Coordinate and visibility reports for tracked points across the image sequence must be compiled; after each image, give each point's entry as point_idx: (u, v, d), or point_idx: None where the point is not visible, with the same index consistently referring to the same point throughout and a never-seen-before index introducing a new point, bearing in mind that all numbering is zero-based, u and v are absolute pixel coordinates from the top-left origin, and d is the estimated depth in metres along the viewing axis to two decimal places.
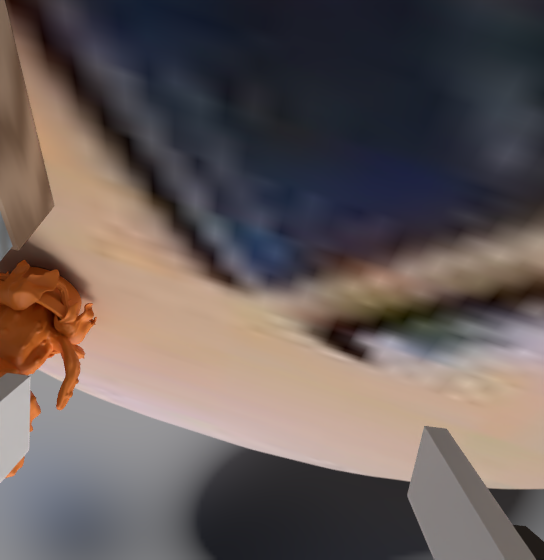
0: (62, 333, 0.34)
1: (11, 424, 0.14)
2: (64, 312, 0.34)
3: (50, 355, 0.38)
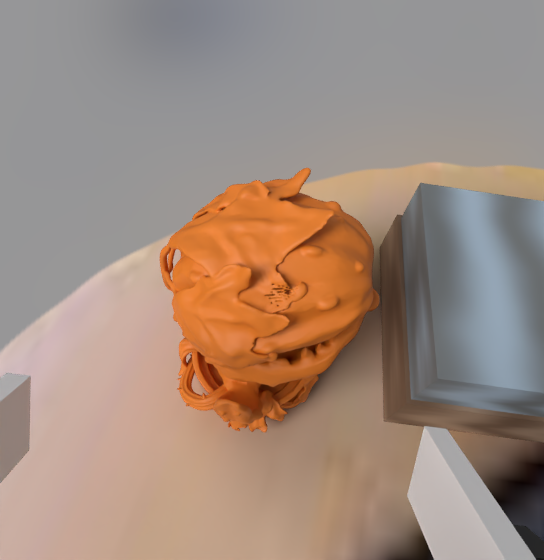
0: None
1: (11, 424, 0.14)
2: None
3: (184, 357, 0.29)
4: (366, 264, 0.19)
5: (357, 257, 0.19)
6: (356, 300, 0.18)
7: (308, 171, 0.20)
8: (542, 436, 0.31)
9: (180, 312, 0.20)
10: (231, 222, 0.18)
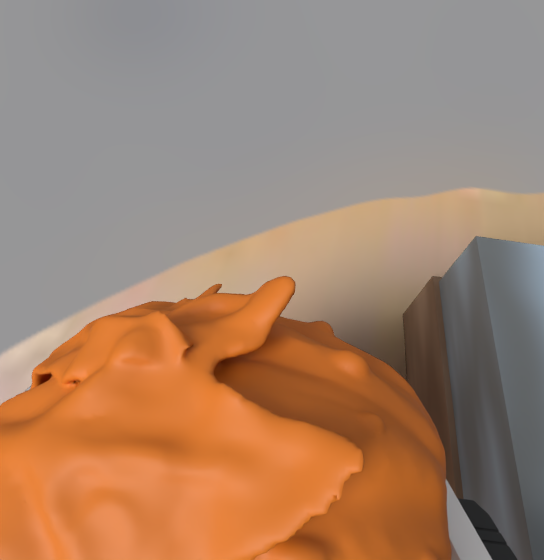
0: None
1: None
2: None
3: None
4: (444, 543, 0.07)
5: (420, 539, 0.07)
6: None
7: (289, 286, 0.08)
8: None
9: None
10: (71, 450, 0.07)
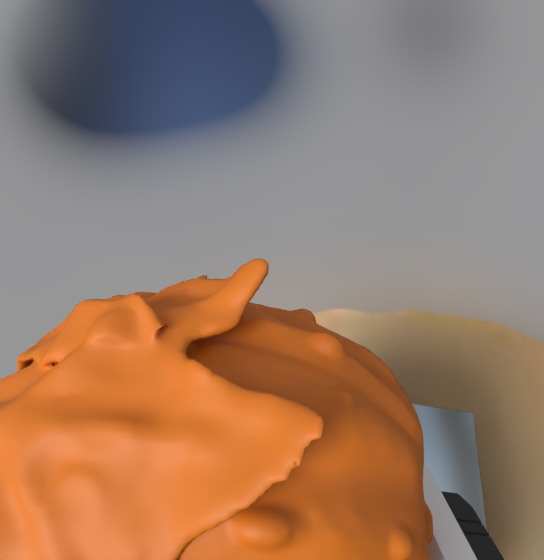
0: None
1: None
2: None
3: None
4: (417, 520, 0.07)
5: (391, 513, 0.07)
6: None
7: (261, 268, 0.08)
8: None
9: None
10: (45, 425, 0.07)
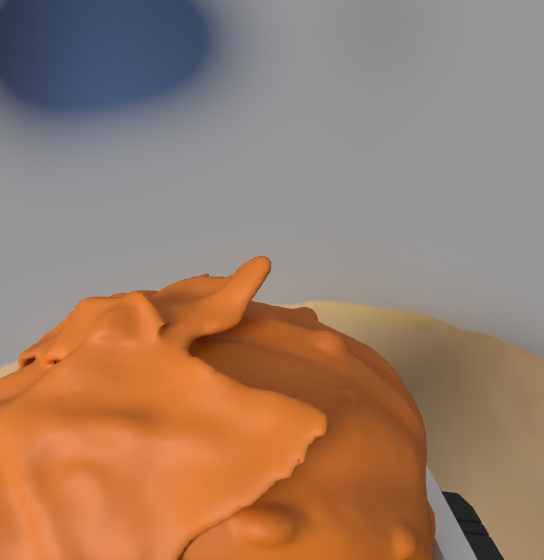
0: None
1: None
2: None
3: None
4: (421, 518, 0.07)
5: (394, 512, 0.07)
6: None
7: (264, 265, 0.08)
8: None
9: None
10: (47, 423, 0.07)
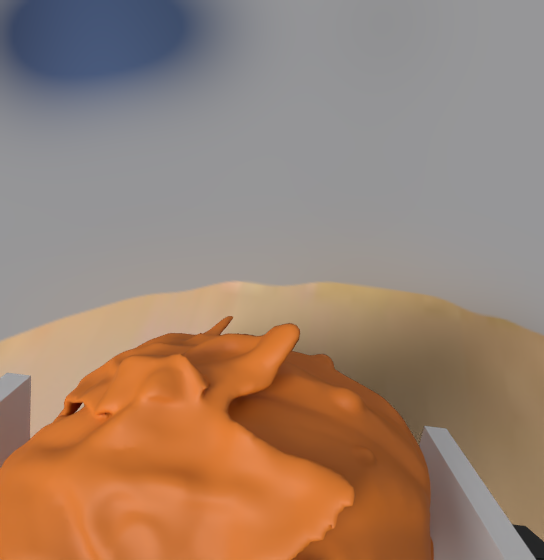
0: None
1: (11, 424, 0.14)
2: None
3: None
4: None
5: (405, 559, 0.08)
6: None
7: (294, 334, 0.09)
8: None
9: None
10: (108, 478, 0.08)
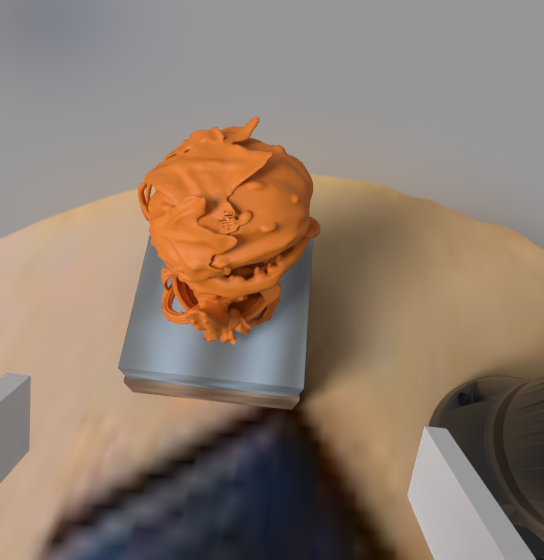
0: None
1: (11, 424, 0.14)
2: None
3: (165, 282, 0.34)
4: (302, 197, 0.24)
5: (293, 191, 0.23)
6: (292, 226, 0.23)
7: (257, 119, 0.24)
8: (245, 401, 0.41)
9: (154, 236, 0.25)
10: (192, 161, 0.23)
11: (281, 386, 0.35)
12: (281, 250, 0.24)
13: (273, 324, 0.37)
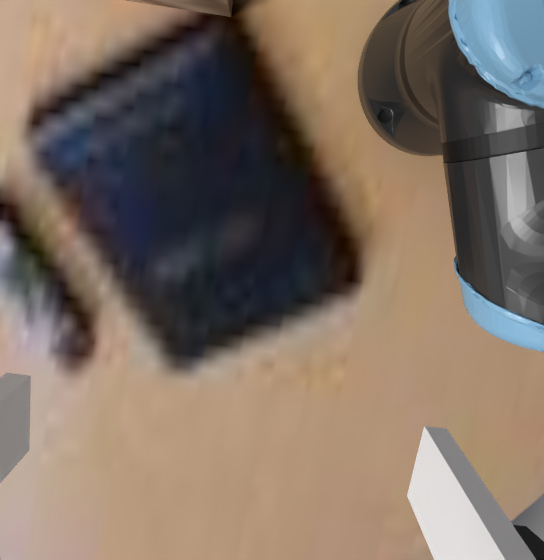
0: None
1: (11, 424, 0.14)
2: None
3: None
4: None
5: None
6: None
7: None
8: (181, 4, 0.42)
9: None
10: None
11: None
12: None
13: None
